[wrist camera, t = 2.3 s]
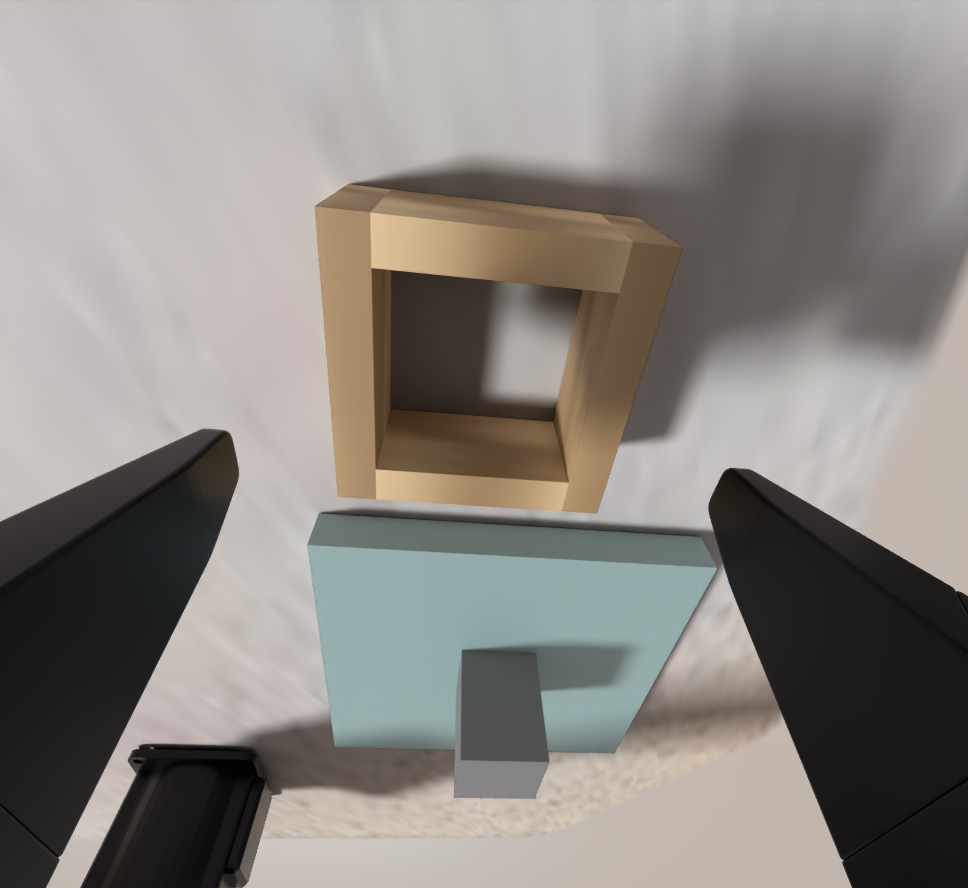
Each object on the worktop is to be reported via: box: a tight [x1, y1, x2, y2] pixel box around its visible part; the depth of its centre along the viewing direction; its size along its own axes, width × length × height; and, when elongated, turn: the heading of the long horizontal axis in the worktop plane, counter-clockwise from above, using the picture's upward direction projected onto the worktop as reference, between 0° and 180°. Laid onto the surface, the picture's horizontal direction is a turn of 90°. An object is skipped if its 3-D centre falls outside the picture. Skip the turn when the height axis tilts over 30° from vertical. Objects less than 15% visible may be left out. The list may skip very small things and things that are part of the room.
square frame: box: [315, 184, 683, 513], centre depth 12 cm, size 7×7×3 cm
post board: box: [307, 513, 717, 799], centre depth 19 cm, size 14×14×6 cm
